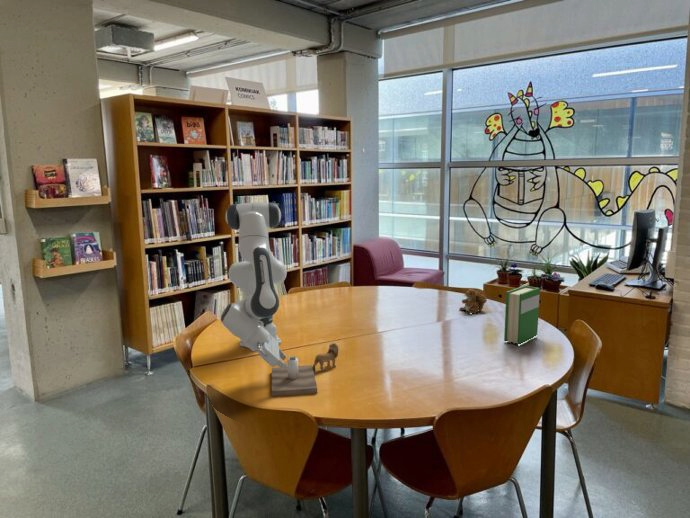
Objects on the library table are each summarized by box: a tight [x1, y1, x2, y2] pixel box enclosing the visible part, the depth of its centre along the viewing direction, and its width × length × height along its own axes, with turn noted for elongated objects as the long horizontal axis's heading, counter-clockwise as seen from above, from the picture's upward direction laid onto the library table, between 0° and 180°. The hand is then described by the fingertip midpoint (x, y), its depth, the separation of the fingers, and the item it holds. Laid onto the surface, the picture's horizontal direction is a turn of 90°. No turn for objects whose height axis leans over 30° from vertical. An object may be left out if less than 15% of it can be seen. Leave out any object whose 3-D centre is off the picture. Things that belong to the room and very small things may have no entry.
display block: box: [271, 364, 318, 397], centre depth 188 cm, size 22×16×2 cm
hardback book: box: [503, 285, 541, 345], centre depth 232 cm, size 18×7×24 cm, turn 134°
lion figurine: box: [312, 342, 339, 373], centre depth 201 cm, size 15×5×9 cm, turn 144°
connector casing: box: [286, 355, 299, 379], centre depth 187 cm, size 4×4×8 cm
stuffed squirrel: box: [459, 288, 488, 314], centre depth 283 cm, size 10×14×13 cm
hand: (285, 362), depth 187 cm, fingers open, 8 cm apart
